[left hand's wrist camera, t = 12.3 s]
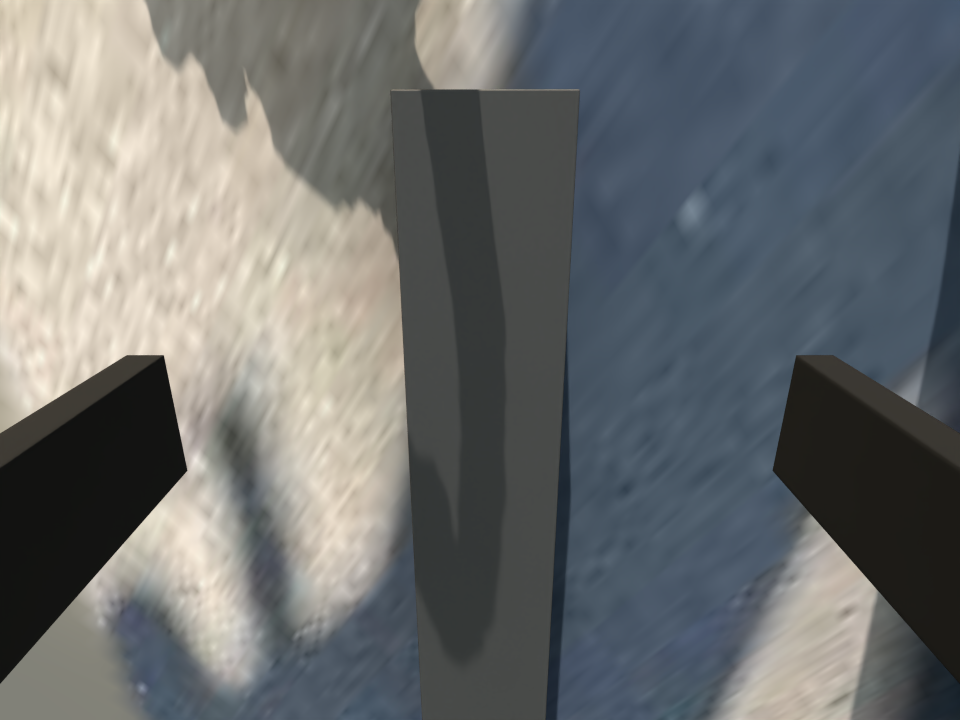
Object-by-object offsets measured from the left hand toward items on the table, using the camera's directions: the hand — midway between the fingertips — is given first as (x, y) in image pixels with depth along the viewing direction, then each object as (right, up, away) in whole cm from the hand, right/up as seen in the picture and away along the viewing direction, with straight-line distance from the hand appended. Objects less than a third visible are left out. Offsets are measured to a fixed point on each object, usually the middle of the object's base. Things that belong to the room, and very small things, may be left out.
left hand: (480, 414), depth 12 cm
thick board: (0, -17, +36) cm, 39 cm away
